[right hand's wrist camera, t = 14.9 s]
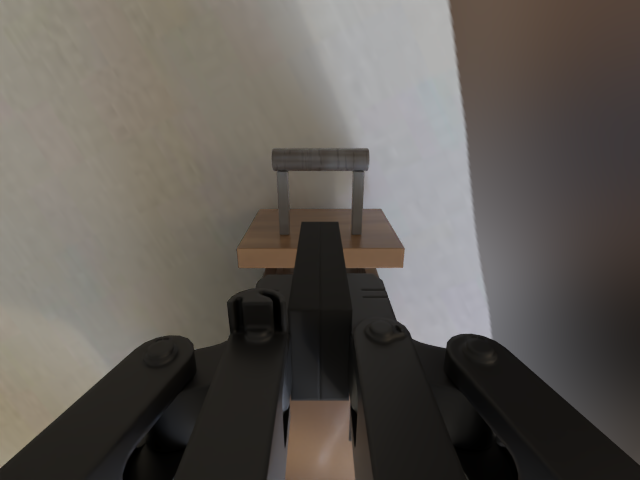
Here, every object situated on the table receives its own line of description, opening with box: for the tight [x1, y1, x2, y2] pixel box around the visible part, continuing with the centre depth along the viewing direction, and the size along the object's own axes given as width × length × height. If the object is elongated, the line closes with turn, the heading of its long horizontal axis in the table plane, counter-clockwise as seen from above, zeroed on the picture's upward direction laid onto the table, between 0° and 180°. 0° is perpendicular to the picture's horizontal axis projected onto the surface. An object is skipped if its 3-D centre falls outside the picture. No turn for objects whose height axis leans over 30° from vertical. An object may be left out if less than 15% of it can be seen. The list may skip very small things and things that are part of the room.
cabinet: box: [285, 394, 355, 480], centre depth 29 cm, size 18×10×10 cm, turn 0°
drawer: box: [237, 148, 405, 278], centre depth 25 cm, size 21×9×8 cm, turn 0°
